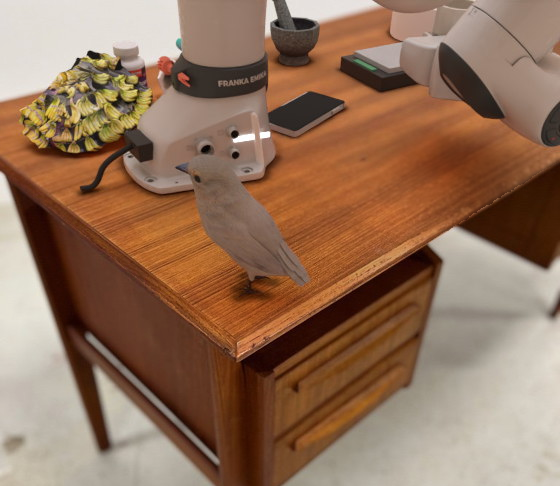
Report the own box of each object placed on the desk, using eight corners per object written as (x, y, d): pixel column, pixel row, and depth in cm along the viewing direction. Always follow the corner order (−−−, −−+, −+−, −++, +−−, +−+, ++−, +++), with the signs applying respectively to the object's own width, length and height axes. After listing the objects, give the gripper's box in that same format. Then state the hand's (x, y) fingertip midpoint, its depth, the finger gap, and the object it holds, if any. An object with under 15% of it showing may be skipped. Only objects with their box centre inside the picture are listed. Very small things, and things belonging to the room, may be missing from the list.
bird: (203, 260, 66) (182, 139, 56) (315, 280, 63) (316, 156, 52) (185, 287, 63) (160, 164, 52) (303, 310, 59) (301, 183, 49)
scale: (380, 91, 105) (383, 72, 103) (339, 69, 113) (341, 51, 111) (441, 77, 111) (445, 59, 108) (398, 57, 119) (401, 40, 117)
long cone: (199, 64, 116) (201, 92, 100) (169, 75, 116) (167, 104, 101) (188, 35, 112) (189, 59, 97) (158, 46, 112) (153, 71, 97)
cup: (444, 87, 83) (459, 12, 76) (416, 74, 87) (428, 1, 80) (475, 80, 85) (493, 6, 79) (446, 67, 89) (461, -4, 83)
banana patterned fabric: (59, 183, 84) (36, 153, 78) (15, 124, 91) (-9, 92, 85) (170, 112, 87) (156, 78, 82) (120, 60, 94) (104, 25, 89)
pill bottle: (137, 113, 96) (128, 52, 89) (111, 107, 97) (100, 46, 91) (156, 101, 99) (148, 42, 93) (131, 96, 101) (121, 37, 94)
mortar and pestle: (327, 61, 116) (331, -5, 108) (294, 72, 112) (297, 4, 103) (288, 48, 122) (289, -16, 114) (256, 57, 117) (255, -8, 109)
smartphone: (256, 118, 93) (308, 90, 102) (256, 125, 94) (308, 96, 102) (296, 131, 89) (347, 101, 98) (296, 139, 90) (346, 108, 99)
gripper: (578, 38, 73) (520, 9, 83) (430, 47, 69) (388, 16, 79) (561, 88, 77) (508, 54, 87) (421, 99, 73) (382, 63, 83)
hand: (450, 36), depth 83 cm, fingers closed on cup, 6 cm apart
